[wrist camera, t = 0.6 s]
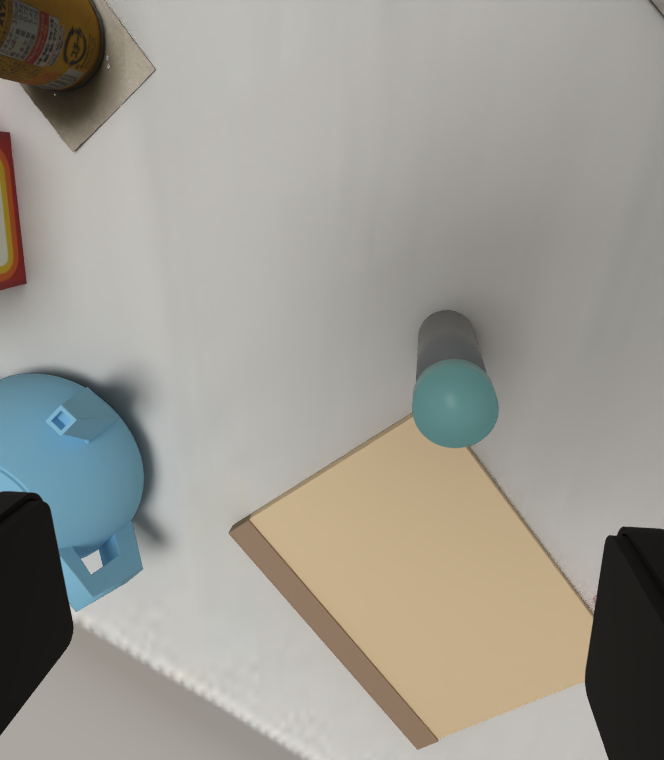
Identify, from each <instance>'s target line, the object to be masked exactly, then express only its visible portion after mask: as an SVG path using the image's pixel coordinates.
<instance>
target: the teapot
mask: <svg viewBox="0 0 664 760" xmlns="http://www.w3.org/2000/svg"><path fill="white" fill-rule="evenodd" d="M143 487H144V472H143V464H142V459H141V455H140V452H139V450H138V447H137V444H136V442H135V440H134V438H133V436H132V434H131V432H130V430H129V429H128V427H127V426H126V424H125V423H124V421H123V420H122V419H121V418H120V416H119V415H118V414H117V413H116V412H115V411H114V410H113V409H112V408H111V407H110V406H109V405H108V404H107V403H106V402H105V401H104V400H102V399H101V398H100V397H98V396H97V395H96V394H94V393H93V392H92V391H91V390H90V389H89V388H88V387H86V388H85V387H83V386H81V385H79V384H77V383H75V382H72V381H70V380H67V379H64V378H61V377H57V376H53V375H48V374H35V373H31V374H18V375H13V376H9V377H6V378H3V379H1V380H0V492H2V491H16V492H33V493H37V494H39V495H40V496H41V498H42V499H43V501H44V502H46V503H47V504H48V505H49V506H50V509H51V514H52V519H53V524H54V529H55V534H56V539H57V544H58V549H59V554H60V559H61V565H62V570H63V575H64V580H65V585H66V590H67V595H68V600H69V604H70V605H71V606H72V608H73V609H74V610H75V611H76V612H77V611H79V610H81V609H82V608H84V607H86V606H87V605H89V604H91V603H93V602H94V601H96V600H98V599H99V598H101V597H103V596H104V595H106V594H108V593H110V592H111V591H113V590H115V589H116V588H118V587H120V586H122V585H123V584H125V583H127V582H128V581H129V580H130V579H132V578H133V577H134V576H135V575H137V574H138V573H139V572H140V571H141V570H143V567H142V562H141V558H140V554H139V549H138V545H137V541H136V537H135V532H134V528H133V524H132V518H133V517H134V515H135V513H136V511H137V509H138V507H139V504H140V501H141V497H142V492H143ZM98 549H99V552H100V556H101V560H102V564H103V567H102V568H100V569H99V570H97V571H96V572H94V573H93V574H92V575H91V574H90V572H89V571H88V569H87V568H86V566H85V565H84V563H83V562H82V560H81V558H84V557H86V556H88V555H90V554H91V553H93V552H95V551H96V550H98Z"/></svg>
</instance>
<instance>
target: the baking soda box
mask: <svg viewBox="0 0 664 760" xmlns="http://www.w3.org/2000/svg"><path fill="white" fill-rule="evenodd" d="M22 284H26V275H25V266H24V257H23V248H22V239H21V230H20V221H19V212H18V203H17V194H16V185H15V176H14V167H13V158H12V149H11V141H10V133H9V132H0V290H3V289H7V288H10V287H14V286H18V285H22Z"/></svg>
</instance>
